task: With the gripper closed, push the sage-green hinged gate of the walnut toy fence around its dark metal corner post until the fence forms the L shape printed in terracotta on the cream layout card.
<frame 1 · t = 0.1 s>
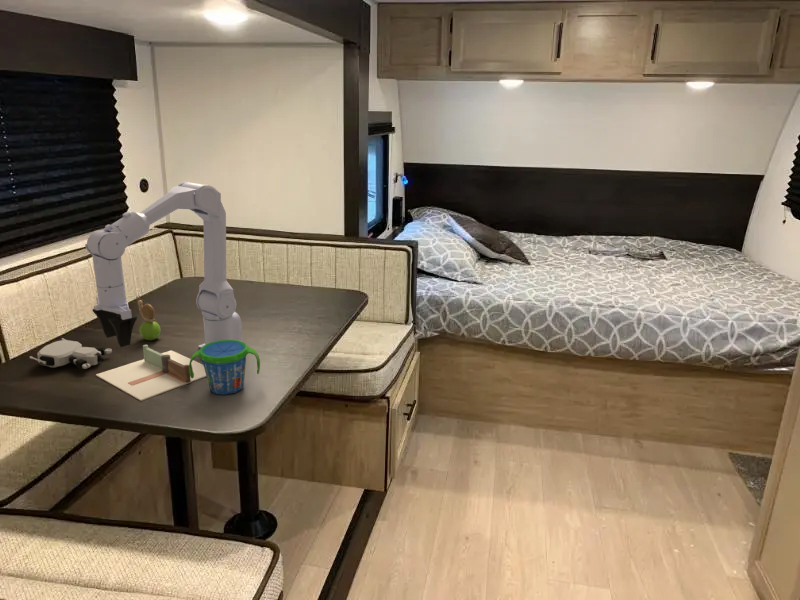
hand: (117, 340, 142), 10 cm above the table, tool pointing down, fingers open, 7 cm apart
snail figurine: (149, 339, 169), on the table
fence gate: (153, 356, 151), point 3 cm above the table, hinge at 0.0°
snack cup: (226, 389, 142), on the table
robot toy: (74, 364, 153), on the table
layout card: (157, 373, 148), on the table
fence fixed: (167, 372, 149), resting on layout card
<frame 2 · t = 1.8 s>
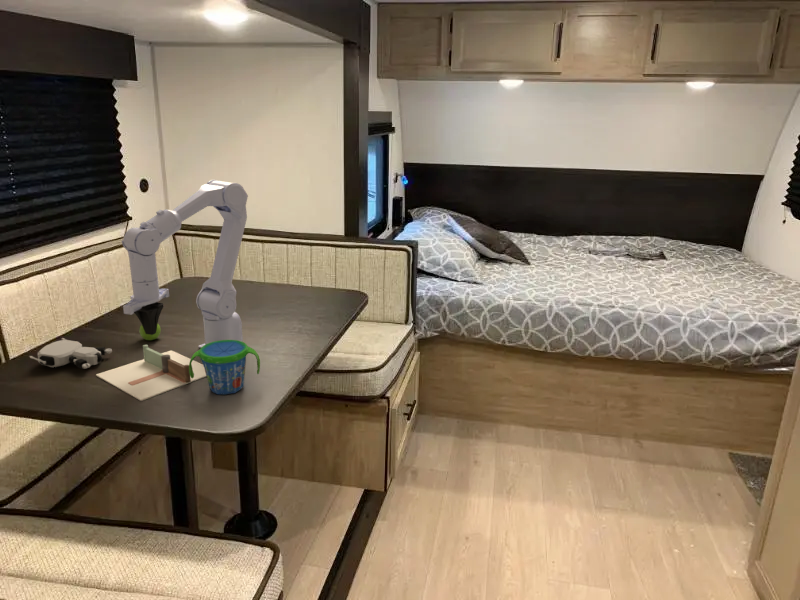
hand: (150, 333, 148), 9 cm above the table, tool pointing down, fingers closed
nothing on the table moved.
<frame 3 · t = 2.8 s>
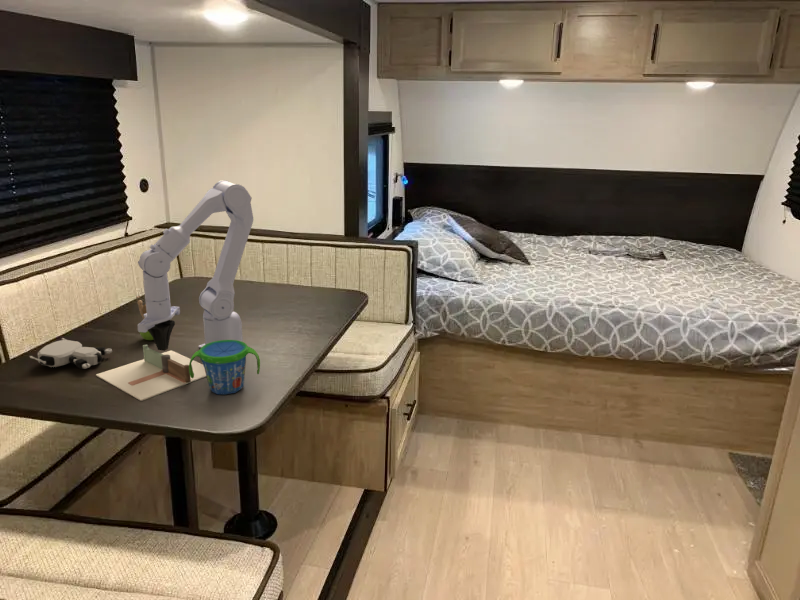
hand: (162, 349, 156), 3 cm above the table, tool pointing down, fingers closed
nothing on the table moved.
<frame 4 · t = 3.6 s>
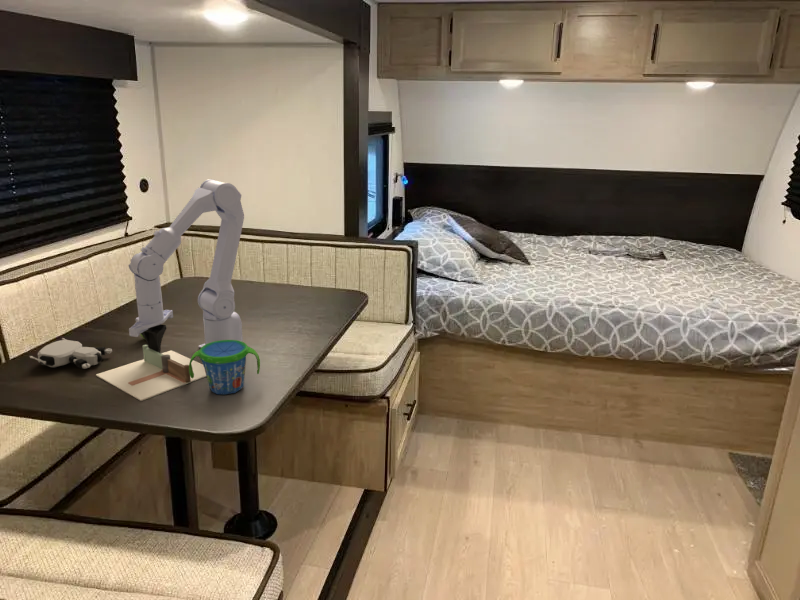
hand: (155, 353, 153), 3 cm above the table, tool pointing down, fingers closed, pressing on fence gate
fence gate: (153, 356, 151), point 3 cm above the table, hinge at 0.4°, touching gripper
everything else where it was.
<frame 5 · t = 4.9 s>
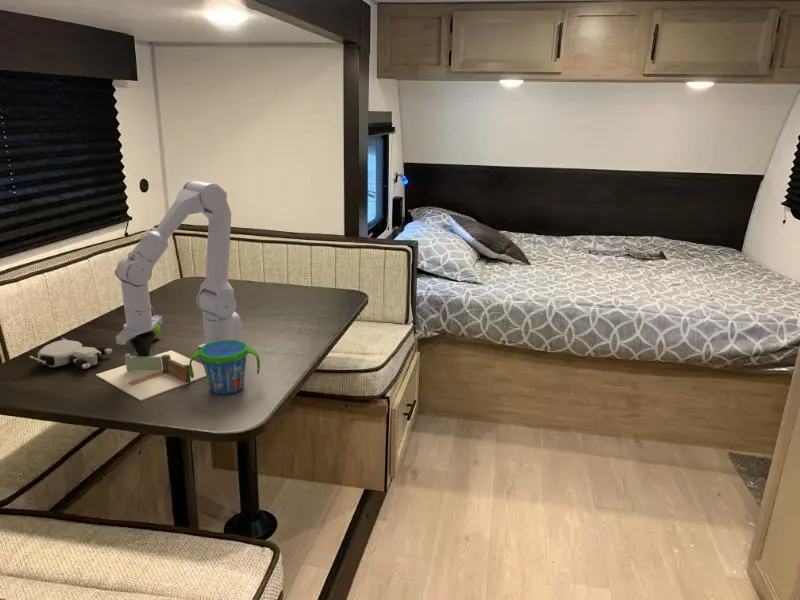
hand: (143, 361, 149), 3 cm above the table, tool pointing down, fingers closed, pressing on fence gate
fence gate: (143, 362, 148), point 3 cm above the table, hinge at 40.9°, touching gripper
everything else where it was.
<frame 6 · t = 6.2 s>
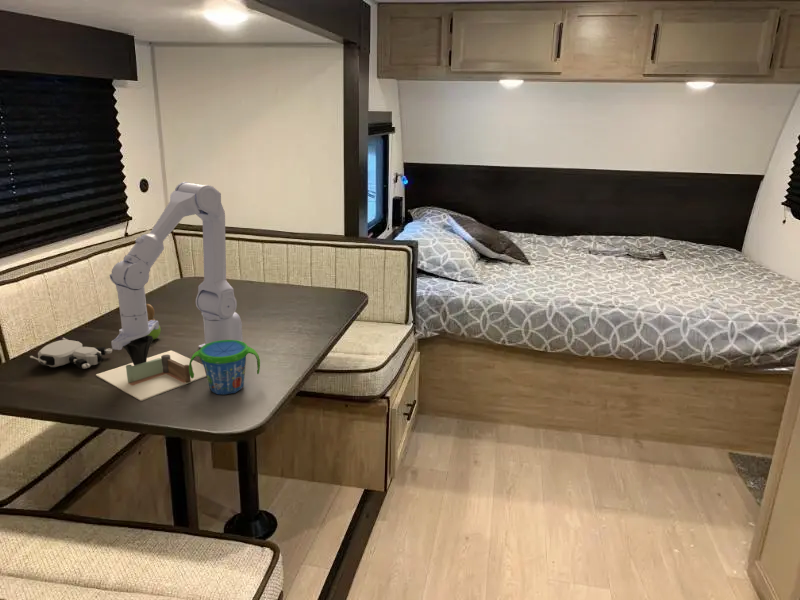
hand: (140, 366, 146), 3 cm above the table, tool pointing down, fingers closed
fence gate: (144, 369, 144), point 3 cm above the table, hinge at 85.9°
everything else where it was.
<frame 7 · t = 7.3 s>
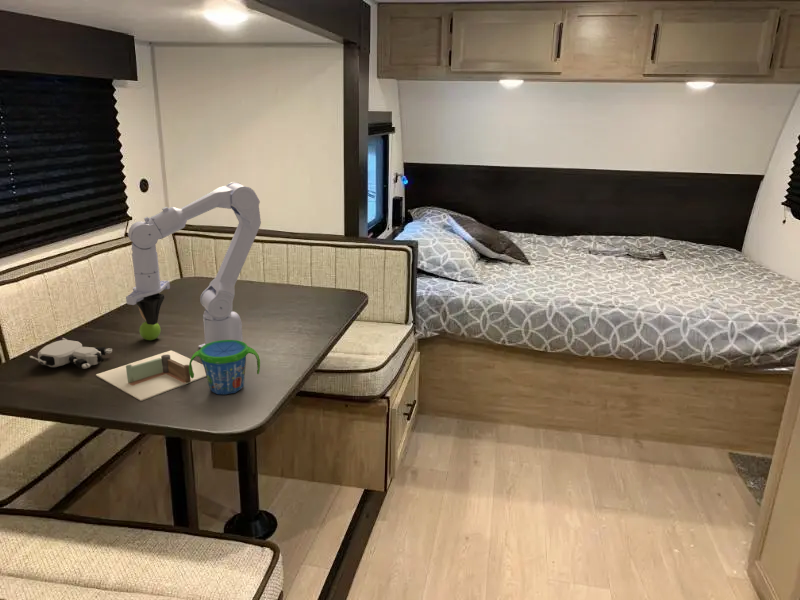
hand: (152, 323, 154), 9 cm above the table, tool pointing down, fingers closed
nothing on the table moved.
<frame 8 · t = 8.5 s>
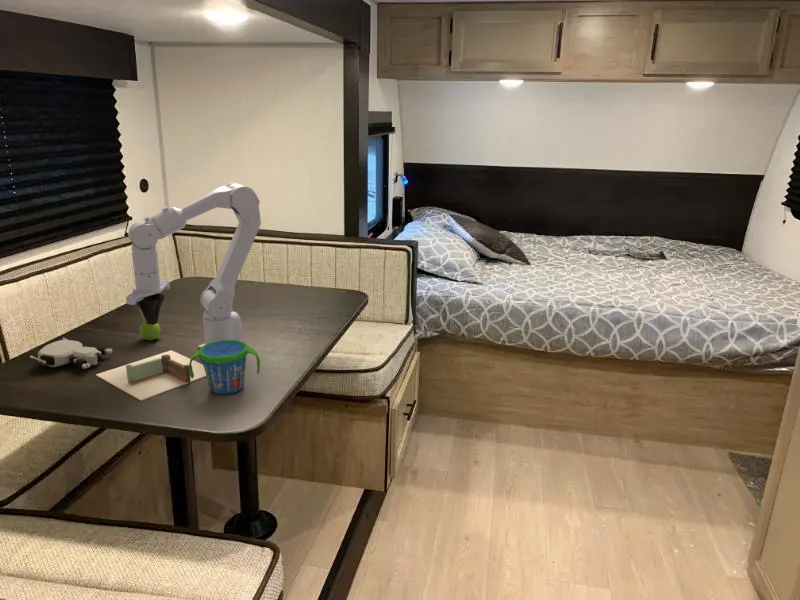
hand: (152, 323, 154), 9 cm above the table, tool pointing down, fingers closed
nothing on the table moved.
at the end: fence gate at +86° (first picture: +0°) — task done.
